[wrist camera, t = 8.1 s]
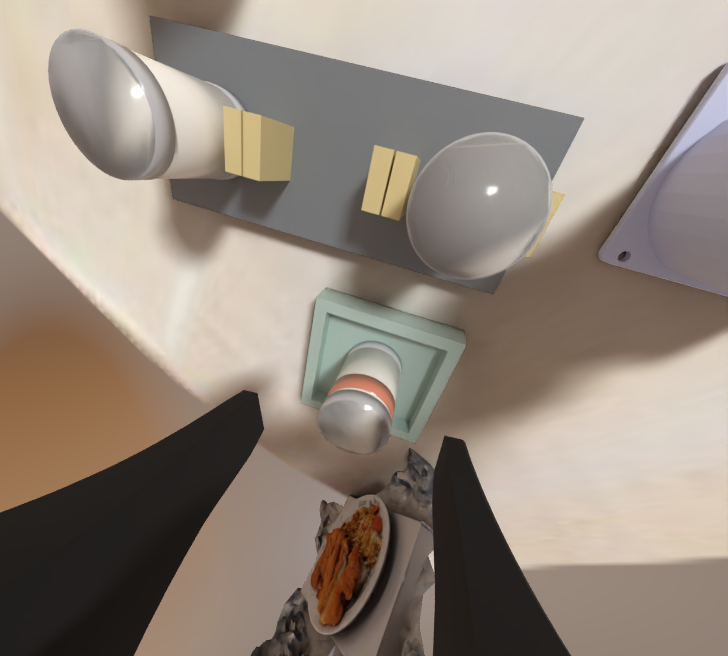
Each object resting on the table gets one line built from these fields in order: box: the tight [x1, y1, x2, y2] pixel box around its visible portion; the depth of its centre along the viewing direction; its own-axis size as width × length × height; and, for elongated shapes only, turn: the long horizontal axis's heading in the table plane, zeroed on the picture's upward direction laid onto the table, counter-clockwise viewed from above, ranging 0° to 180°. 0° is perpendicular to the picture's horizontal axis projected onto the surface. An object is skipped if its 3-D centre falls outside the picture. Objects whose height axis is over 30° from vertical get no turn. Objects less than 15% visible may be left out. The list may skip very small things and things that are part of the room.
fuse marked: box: [317, 341, 402, 454], centre depth 18 cm, size 4×4×6 cm
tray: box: [301, 288, 467, 444], centre depth 20 cm, size 10×10×2 cm
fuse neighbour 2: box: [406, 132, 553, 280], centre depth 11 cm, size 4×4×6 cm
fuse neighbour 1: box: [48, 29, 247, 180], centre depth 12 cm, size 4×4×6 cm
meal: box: [251, 448, 435, 656], centre depth 23 cm, size 15×4×13 cm, turn 139°
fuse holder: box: [149, 16, 584, 294], centre depth 13 cm, size 20×8×4 cm, turn 77°
